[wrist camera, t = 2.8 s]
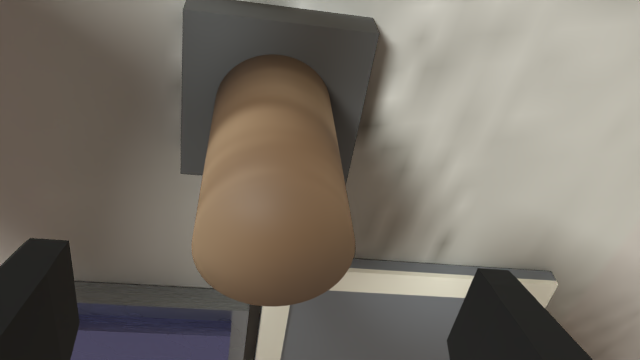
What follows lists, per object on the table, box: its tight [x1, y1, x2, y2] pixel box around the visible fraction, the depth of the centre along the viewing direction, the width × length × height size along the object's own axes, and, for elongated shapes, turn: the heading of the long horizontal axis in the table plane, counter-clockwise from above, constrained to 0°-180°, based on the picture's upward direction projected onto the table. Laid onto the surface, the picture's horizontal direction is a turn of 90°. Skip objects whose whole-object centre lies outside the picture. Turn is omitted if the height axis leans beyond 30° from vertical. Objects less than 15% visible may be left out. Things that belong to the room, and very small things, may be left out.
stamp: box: [181, 0, 379, 307], centre depth 14 cm, size 5×5×7 cm
